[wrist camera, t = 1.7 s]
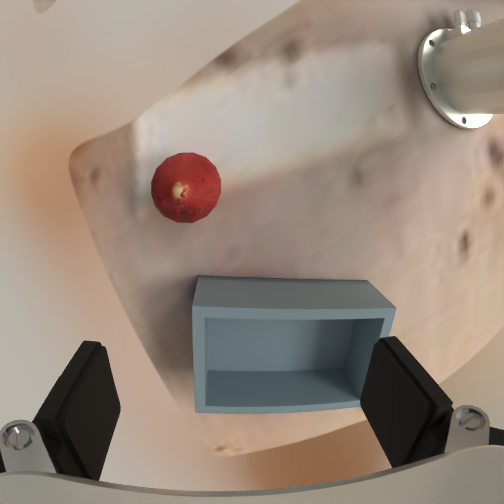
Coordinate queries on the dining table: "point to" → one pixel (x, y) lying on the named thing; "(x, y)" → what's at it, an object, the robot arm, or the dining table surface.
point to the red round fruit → (186, 187)
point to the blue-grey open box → (284, 343)
